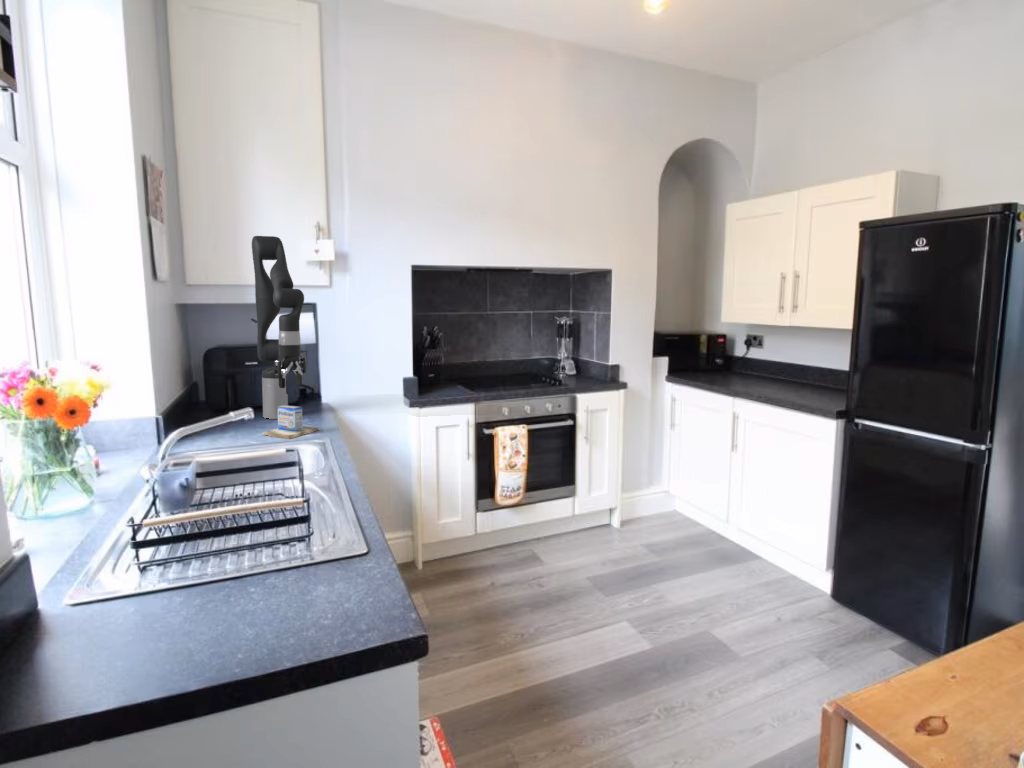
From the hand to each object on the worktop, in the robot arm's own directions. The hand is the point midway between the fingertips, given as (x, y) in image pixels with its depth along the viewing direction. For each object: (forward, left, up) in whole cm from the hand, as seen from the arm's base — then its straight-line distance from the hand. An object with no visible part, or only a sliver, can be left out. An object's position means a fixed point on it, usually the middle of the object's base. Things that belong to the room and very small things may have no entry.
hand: (290, 386), depth 207 cm
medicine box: (0, -1, -17) cm, 17 cm away
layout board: (0, 0, -18) cm, 18 cm away
